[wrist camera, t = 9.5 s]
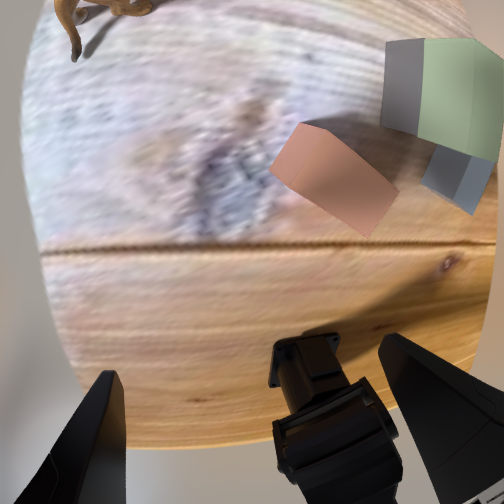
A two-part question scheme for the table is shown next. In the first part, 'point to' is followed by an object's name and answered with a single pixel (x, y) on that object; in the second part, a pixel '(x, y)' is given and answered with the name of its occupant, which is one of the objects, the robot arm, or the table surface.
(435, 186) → the slate blue brick
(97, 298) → the table surface
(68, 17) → the lion figurine
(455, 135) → the green brick
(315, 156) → the terracotta brick
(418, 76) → the charcoal brick
